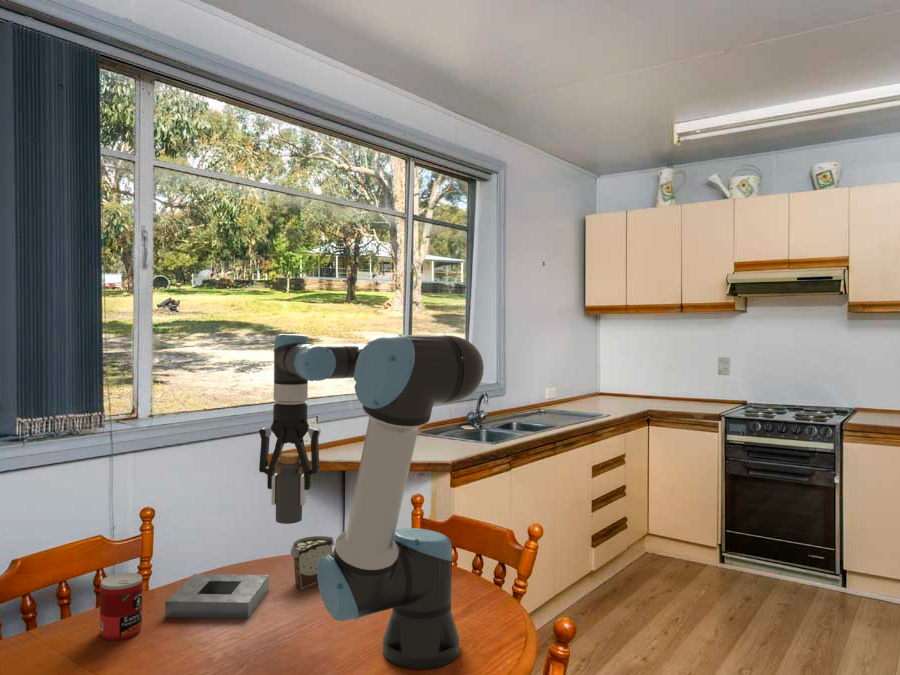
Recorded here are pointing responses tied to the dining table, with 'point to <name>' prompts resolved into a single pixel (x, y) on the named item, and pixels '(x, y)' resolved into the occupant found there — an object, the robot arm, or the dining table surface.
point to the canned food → (120, 606)
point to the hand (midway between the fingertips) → (289, 503)
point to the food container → (309, 558)
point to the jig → (217, 596)
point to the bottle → (288, 489)
